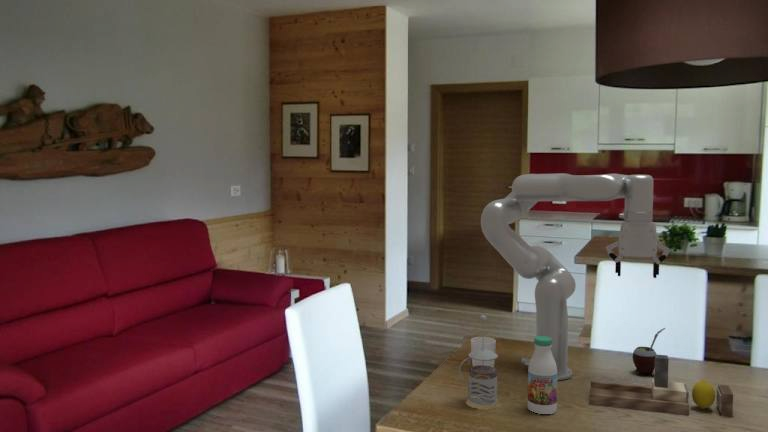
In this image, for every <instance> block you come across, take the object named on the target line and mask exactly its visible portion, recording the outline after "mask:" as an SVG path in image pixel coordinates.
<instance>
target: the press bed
mask: <svg viewBox="0 0 768 432" xmlns="http://www.w3.org/2000/svg"><path fill="white" fill-rule="evenodd" d="M589 405H594V406H603V407H612V408H621V409H631V410H638V411H639V410H640V411H647V412H648V411H650V412H657V413H666V414H674V415H675V414H676V415H684V416H689V415H690V403H689V402H688V403H679V402H670V401H660V400H653V398H652V386H647V385H646V386H645V385H635V384H634V385H632V384H624V383H623V384H622V383H617V382H615V383H614V382H603V381H592V380H590V389H589Z"/></svg>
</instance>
